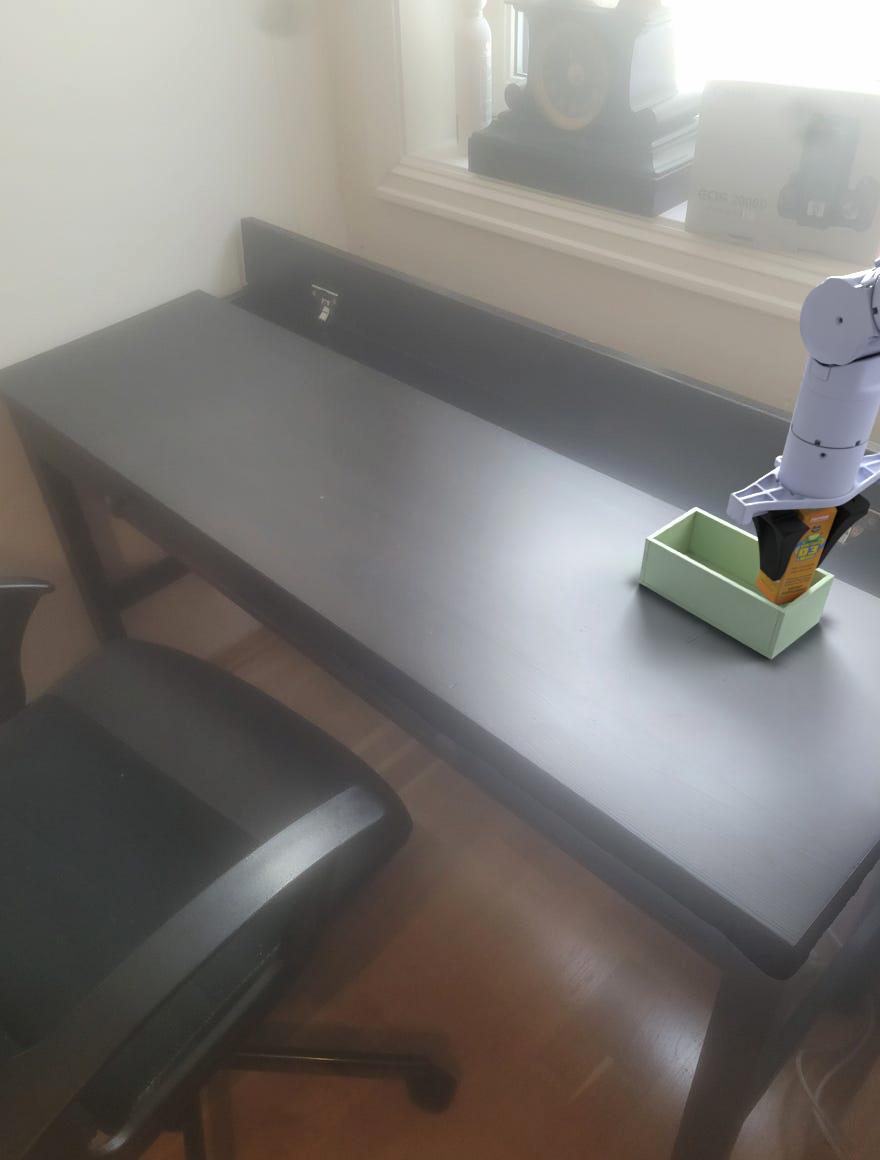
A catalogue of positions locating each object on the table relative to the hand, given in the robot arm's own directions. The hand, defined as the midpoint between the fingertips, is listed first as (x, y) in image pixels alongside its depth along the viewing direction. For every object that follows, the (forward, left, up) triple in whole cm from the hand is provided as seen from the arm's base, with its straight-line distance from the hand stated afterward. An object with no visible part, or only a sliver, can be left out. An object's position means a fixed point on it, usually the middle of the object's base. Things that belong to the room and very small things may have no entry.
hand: (789, 568), depth 78 cm
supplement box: (0, 0, -3) cm, 3 cm away
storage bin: (+5, +2, -7) cm, 9 cm away
